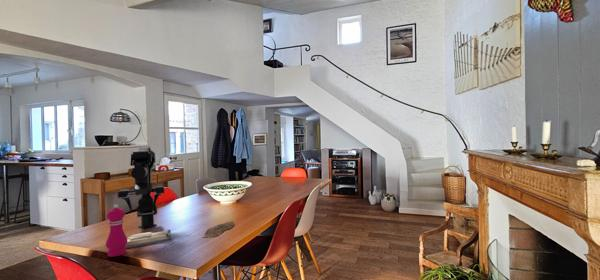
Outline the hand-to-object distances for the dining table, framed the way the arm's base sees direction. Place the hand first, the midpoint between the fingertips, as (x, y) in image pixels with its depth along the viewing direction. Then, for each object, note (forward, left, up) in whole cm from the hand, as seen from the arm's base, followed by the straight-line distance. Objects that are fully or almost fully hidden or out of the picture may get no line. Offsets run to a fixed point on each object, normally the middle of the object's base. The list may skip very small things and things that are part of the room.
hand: (142, 209), depth 127 cm
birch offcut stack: (+7, -3, -12) cm, 14 cm away
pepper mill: (+9, -16, -13) cm, 23 cm away
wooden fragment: (+25, +25, -14) cm, 38 cm away
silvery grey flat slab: (+7, -3, -13) cm, 15 cm away
